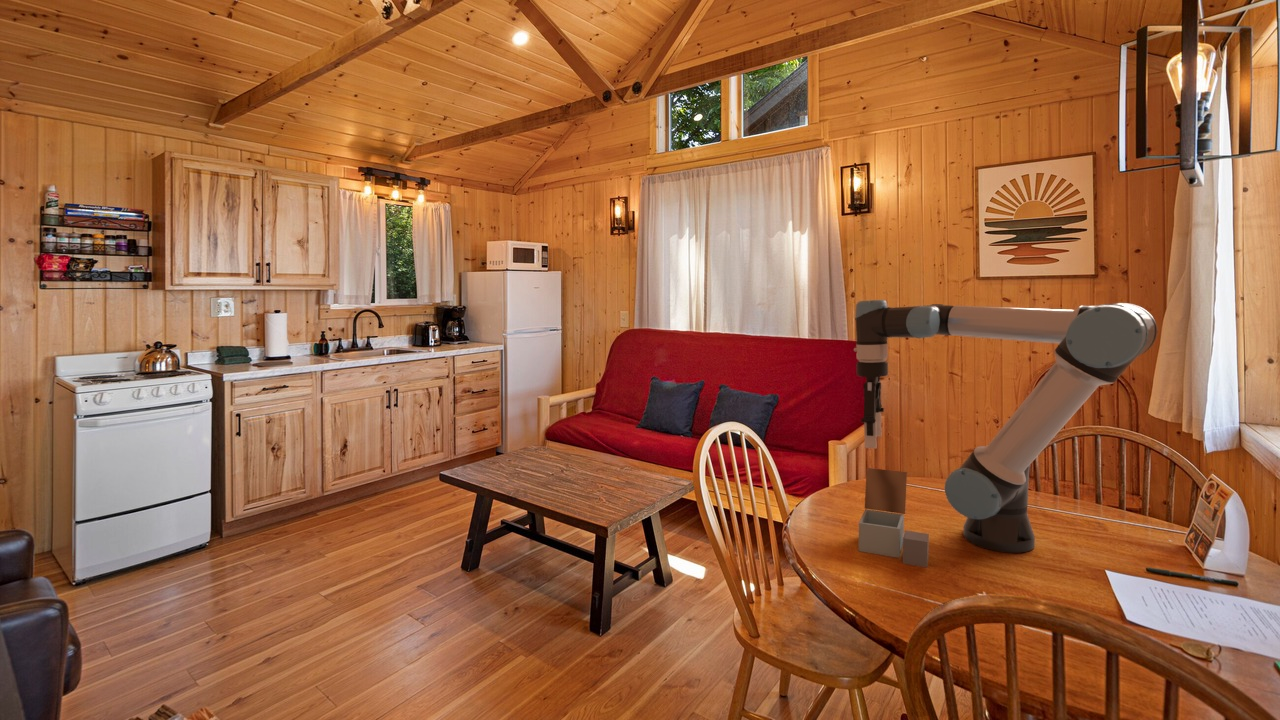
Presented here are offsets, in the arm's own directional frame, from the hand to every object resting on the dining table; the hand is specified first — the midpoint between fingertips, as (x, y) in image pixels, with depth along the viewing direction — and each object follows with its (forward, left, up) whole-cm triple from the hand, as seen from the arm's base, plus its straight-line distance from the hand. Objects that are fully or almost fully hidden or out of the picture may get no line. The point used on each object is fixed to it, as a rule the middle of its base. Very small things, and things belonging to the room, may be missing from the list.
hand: (873, 442), depth 157 cm
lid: (-4, +5, -11) cm, 13 cm away
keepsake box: (-4, +12, -23) cm, 26 cm away
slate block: (-12, +17, -23) cm, 31 cm away
